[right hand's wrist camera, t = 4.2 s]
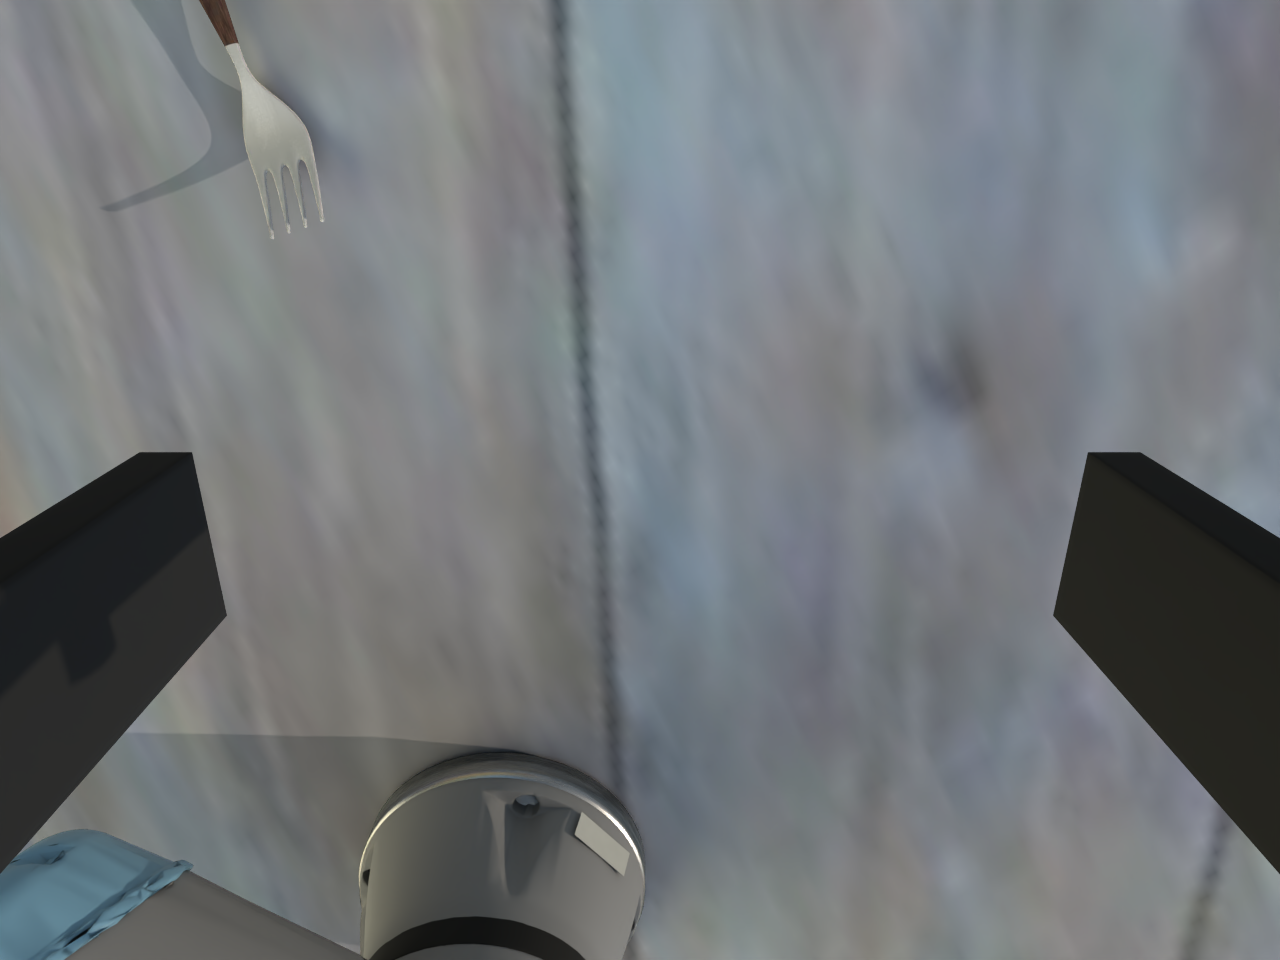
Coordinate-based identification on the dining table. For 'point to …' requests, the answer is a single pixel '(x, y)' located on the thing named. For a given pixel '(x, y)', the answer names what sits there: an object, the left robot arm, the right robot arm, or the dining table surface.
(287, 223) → the fork
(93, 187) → the dining table surface
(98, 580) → the right robot arm
